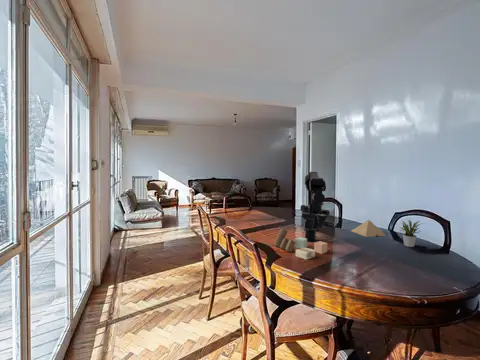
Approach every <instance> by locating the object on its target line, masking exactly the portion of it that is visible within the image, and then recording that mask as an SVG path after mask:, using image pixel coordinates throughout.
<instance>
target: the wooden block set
mask: <svg viewBox="0 0 480 360" xmlns="http://www.w3.org/2000/svg"><path fill="white" fill-rule="evenodd" d="M287 234H288V230H287V229H286V228H282V227H281V228H280V229H279V231H278V234H277V236H276V238H275V240H274V243H273V245H274V246H276V247H278V248H280V249H282V250H284V251H286V252H289V253H293V252H292V251H293V250H294V248H295V243H296V242H295V240H293V239H291V238H290V239H289V238H286V237H287Z"/></svg>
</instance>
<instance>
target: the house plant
mask: <svg viewBox="0 0 480 360" xmlns="http://www.w3.org/2000/svg"><path fill="white" fill-rule="evenodd" d="M401 223H402V227H400V230H399V232H403V234H402V238H403V245H404V246H406V247H409V248H412V247H413V248H414V247H415V245H416V241H417V235H416V234H419V233H421V232H422V231H421V230H419V231H418V229H420V227H419V226H420V225H423V224H425V225H426V222H425V223H424V222H422V223H420V220H417V221H415V222H413V224H412V220H410V219H408V220H407V223H406V221H404V220H401ZM404 231H405V232H404Z"/></svg>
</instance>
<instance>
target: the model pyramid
mask: <svg viewBox="0 0 480 360" xmlns="http://www.w3.org/2000/svg"><path fill="white" fill-rule="evenodd" d="M351 232H353V233H355V234H358V235H360V236H362V237H365V238H366V237H382V236H384V237H385V236H387V235H386V234H385V233H384V232H383V231H382V230H381V229H380V228H379V227H377V226H376V224H374V223H373V222H372V221H371V220H370V219H368V220H366V221H364V222H363V223H361V224H360V225H358V226H356V227H355V228H354V229H352V230H351Z"/></svg>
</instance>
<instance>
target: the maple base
mask: <svg viewBox="0 0 480 360" xmlns="http://www.w3.org/2000/svg"><path fill="white" fill-rule="evenodd" d="M308 248H309V247H306V248H296V249H295V257H297V258H300V259H303V260H309V259H314V258H315V257H316V252H315V251H314V249H313V250H311V249H312V248H310V249H308Z"/></svg>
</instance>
